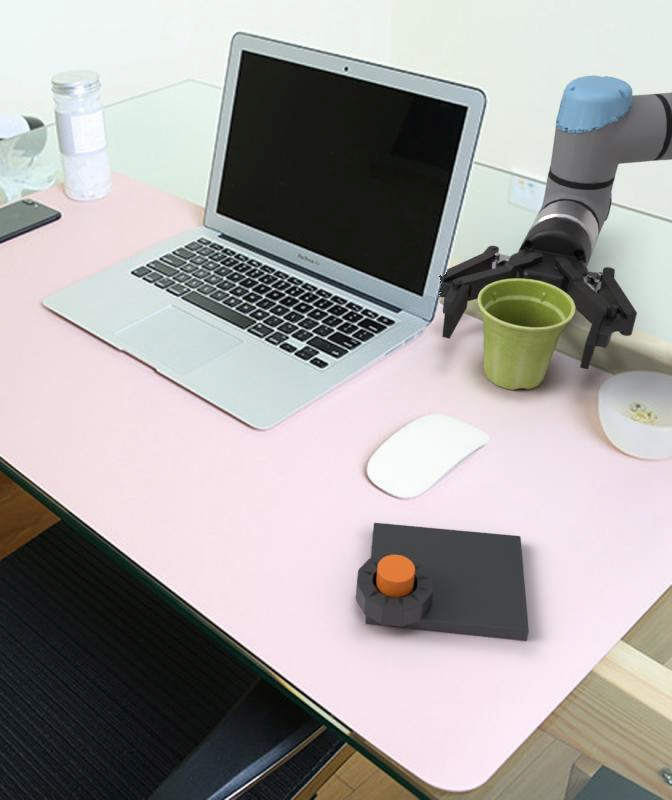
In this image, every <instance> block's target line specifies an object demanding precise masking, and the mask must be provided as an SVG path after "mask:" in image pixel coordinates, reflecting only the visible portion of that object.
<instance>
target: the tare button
mask: <svg viewBox="0 0 672 800" xmlns="http://www.w3.org/2000/svg"><path fill="white" fill-rule="evenodd" d="M414 577H415V566H414V564H413V563H412V561H411V560H409V559H408V558H406V557H404V556H401V555H389V556H386V557H384V558H382V559H381V560H380V561H379V563H378V567H377V580H376V584H377V587H378V589H379V591H380V592H381V593H383V594H384V595H386V596H388V597H392V598H401V597H404V596H407V595H408V594H409V593H410V592H411V591H412V590H413V586H414Z"/></svg>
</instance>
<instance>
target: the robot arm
mask: <svg viewBox="0 0 672 800" xmlns="http://www.w3.org/2000/svg"><path fill="white" fill-rule="evenodd" d="M554 129H555V130H554V137H553V146H552V151H551V159H550V165H549V168H548V169H549V170H548V172H547V176H546V177H547V178H546V183H545V190H544V196H543V201H542V205H541V207H540V209H539V211H538V213H537V215H536V217H535V219H534V220H533V223H532V224H531V225H530V228H529V230H528V232H527V234H526V236H525V238H524V240H523V242H522V243H521V245H520V247H519V249H518V251H517V252H516V253H513V254H512V255H511V256H509V255H506V254H502V253H499V251H500V247H499V246H498V245H489V246H488V247H487V248H486V249H485V250H484V251H483V252H482V253H480V254H478V255H476V256H473V257H471V258H469V259H467V260H464V261H463V262H459V263H458V264H456V265H454V266H451V267H449V268H447V269H446V270H447V272H446V274H445V275H444V276H443V277H442V276H441V275H440V276H439V277H440V280H441V281H442V284H441V288H440V291H439V292H441V293H440V294H439V295H440V296H439V298H443V302H442V314H444V318H443V326H442V334H441V335H442V336H441V338H445V339H451V337H452V334H454V332H455V330H456V327H457V326H458V324H459V323H460V321H461V319H462V317H463V316H464V313H465V312H466V310H467V307H468V303H469V302H471V301H475V300H478V295H479V293H480V291H481V290H482V289H483V288H484V287H485V286H487V285H489V284H491V283H493V282H496V281H500V280H505V279H531V280H537V281H542V282H545V283H548V284H551V285H553V286H556V287H557V288H559V289H561V290H563V291H564V292H565V293H567V294H568V295H569V296H570V297H571V298H572V299H573V301H574V304H575V311H577V312H578V313H579V314H581V315H582V317H584V318H585V319H586V320H587V321H588V322H589V323H590V324H591V326H590V328H589V331H588V334H587V337H586V340H585V344H584V348H583V352H582V357H581V361H580V366H579V368H581V369H586V370H589V368H590V365H591V363H592V359H593V355H594V353H595V350H596V347H599V348H603V349H607V348H608V347H609V345H610V341H611V339H612V336H613V333H616V332H619V334H620V335H622V336H624V337H629V336H632V334H633V332H634V328H635V323H636V319H637V315H638V312H637V311H636V308H635V307H634V306H633V304H632V302H631V301H630V300H629V298H628V297H627V295H626V293H625V292H624V291H623V289H622V287H621V286H620V285H619V283H618V282H617V280H616V278H615V277H616V270H615V268H614V267H609V266H605V267H603V269H602V271H598V272H597V271H596V272H595V271H589V269H588V265H589V263H590V262H591V261H590V260H591V258H592V256H593V253H594V250H595V247H596V245H597V242H598V239H599V236H600V233H601V232H602V230H603V229H602V228H603V227H604V225H605V222H606V221H608V218H609V216H610V211H611V208H612V203H613V202H612V201H613V194H612V191H613V188H614V187H613V186H614V182H615V180H616V179H615V178H616V175H617V171H618V167H619V165H621V164H632V163H633V164H634V163H645V162H657V161H658V162H659V161H672V91H671V92H661V93H650V94H649V93H648V94H647V93H646V94H635V95H634V94H633V88H632V86H631V85H630V84H629V83H628V82H626V81H625V80H623V79H621V78H617V77H614V76H609V75H605V76H601V75H584V76H580V77H577V78H575V79H572V80H571V81H570V82H568V83H567V84H566V86H565V87H564V90H563V93H562V96H561V99H560V103H559V107H558V112H557V115H556V118H555V128H554ZM441 281H440V283H441Z"/></svg>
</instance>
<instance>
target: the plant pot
mask: <svg viewBox="0 0 672 800" xmlns="http://www.w3.org/2000/svg"><path fill="white" fill-rule="evenodd" d="M477 306H478V308H479V310H480V314H481V319H482V321H483V323H482V324H483V371H484V373H485V376H486V378H487V379H488V380H489V381H490V382H491V383H493V384H494V385H496V386H498V387H500V388H503V389H507V390H511V391H513V390H517V389H526V390H531V389H534V388H536V387H539V386H540V385H541V384H542V382H543V381H544V379H545V377H546V374H547V371H548V368H549V366H550V364H551V359H552V357H553V355H554V352H555V350H556V347H557V345H558V342H559V340H560V336H561V334H562V332H563V331H564V330H565V329H566V327H567V325H568V324H569V323H570V322H571V321H572V320H573V318H574V316H575V313H576V309H575V304H574V301H573V299H572V298H571V297H570V296H569V295H568V294H567V293H565V292H564V291H563V290H561V289H559V288H557V287H556V286H553V285H551V284H548V283H545V282H542V281H537V280H531V279H505V280H500V281H496V282H493V283H491V284H489V285H487V286H485V287H484V288H483V289H482V290H481V291H480V293H479V295H478V299H477Z"/></svg>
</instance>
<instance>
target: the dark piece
mask: <svg viewBox="0 0 672 800" xmlns="http://www.w3.org/2000/svg"><path fill="white" fill-rule="evenodd" d="M372 528H373V529H372V540H371V549H370V557H369V558H368V559H367V560H366V561H365V562H364V563H363V564H362V565H361V567H359V569H357V570H358V571H357V578H356V589H355V601H356V603H357V605H358V606H359V608H360V610H361V611H362V613H363V615H365V618H364V619H365V620H364V622H365V623H364V624H365V625H369V626H380V627H389V628H397V629H399V628H400V629H407V630H408V629H409V630H418V631H427V632H428V631H429V632H437V633H446V634H454V635H456V634H457V635H465V636H473V637H483V638H494V639H501V640H502V639H503V640H510V641H511V640H512V641H521V642H527V640H528V636H529V632H530V631H529V629H530V628H529V618H528V608H527V607H528V606H527V596H526V595H527V594H526V583H525V571H524V562H523V561H524V559H523V549H522V548H523V547H522V538H521V536H520V535H512V534H501V533H491V532H480V531H470V530H461V529H460V530H458V529H448V528H438V527H437V528H436V527H425V526H415V525H405V524H393V523H392V524H391V523H384V522H373V527H372ZM389 555H401V556H404V557H406V558H408V559H409V560H411V561H412V563H413V564H414V566H415V577H414V586H413V590H412V591H411V592H410V593H409V594H408V595H407V596H404V597H401V598H392V597H388V596H386V595H384V594H383V593H381V592H380V591H379V589H378V587H377V584H376V580H377V567H378V563H379V561H380V560H381V559H382V558H384V557H386V556H389Z"/></svg>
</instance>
